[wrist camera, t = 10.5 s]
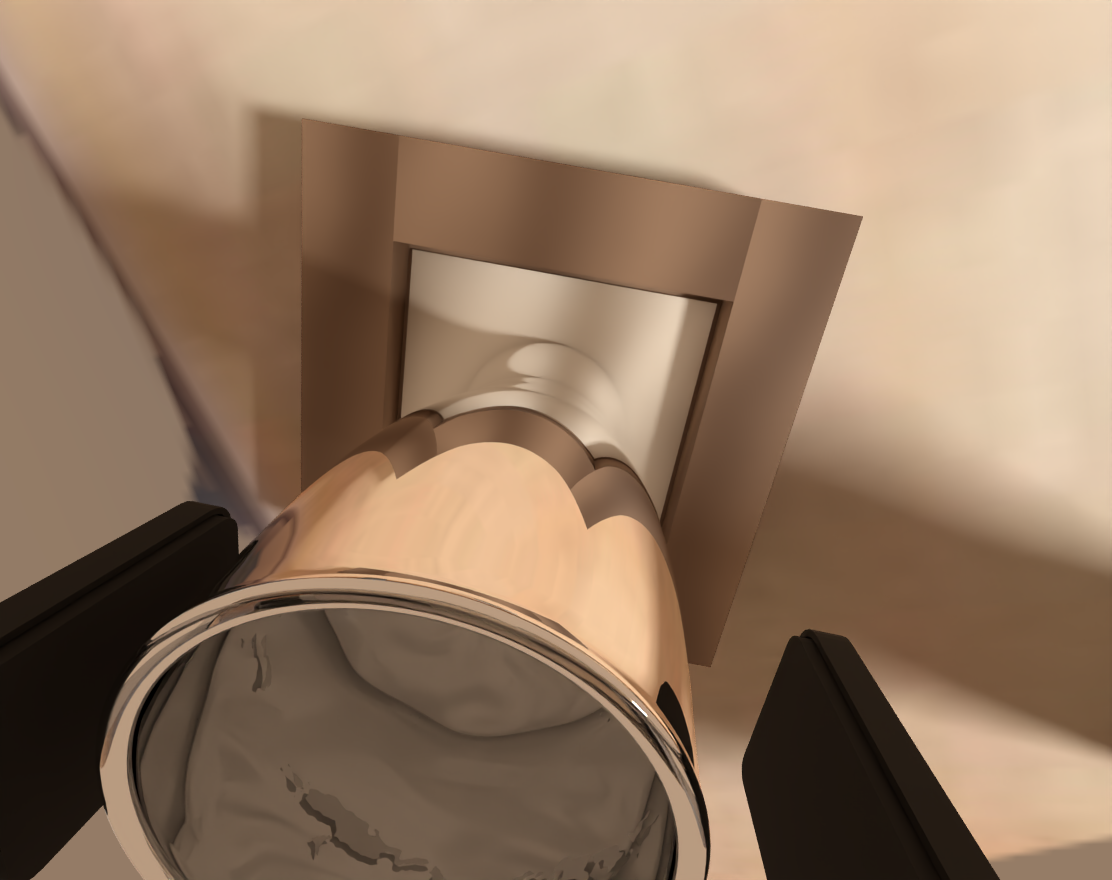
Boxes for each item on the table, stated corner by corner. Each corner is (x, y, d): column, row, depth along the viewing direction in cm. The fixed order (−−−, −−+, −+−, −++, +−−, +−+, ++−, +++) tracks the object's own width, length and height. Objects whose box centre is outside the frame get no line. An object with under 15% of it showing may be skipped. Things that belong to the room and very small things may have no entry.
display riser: (806, 225, 20) (862, 216, 15) (691, 598, 25) (710, 667, 21) (365, 148, 20) (301, 118, 16) (350, 533, 26) (300, 587, 21)
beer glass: (472, 514, 21) (214, 1032, 7) (433, 344, 19) (-59, 596, 5) (645, 496, 20) (748, 1046, 6) (625, 315, 18) (712, 519, 4)
